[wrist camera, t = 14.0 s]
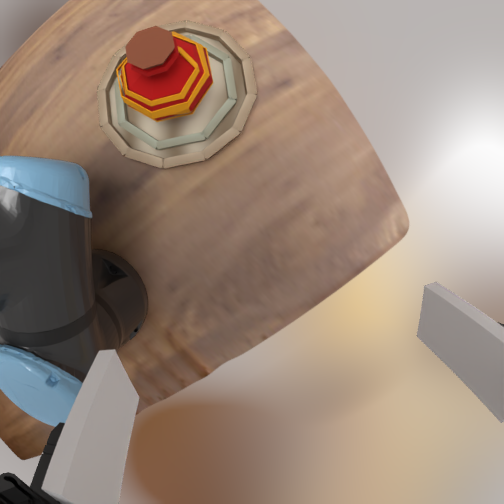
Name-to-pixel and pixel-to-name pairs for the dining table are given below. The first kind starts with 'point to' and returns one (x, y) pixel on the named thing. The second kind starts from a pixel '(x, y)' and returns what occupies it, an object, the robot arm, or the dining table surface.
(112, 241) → the dining table surface
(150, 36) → the potion bottle
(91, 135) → the dining table surface
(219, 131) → the tray
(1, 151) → the dining table surface
